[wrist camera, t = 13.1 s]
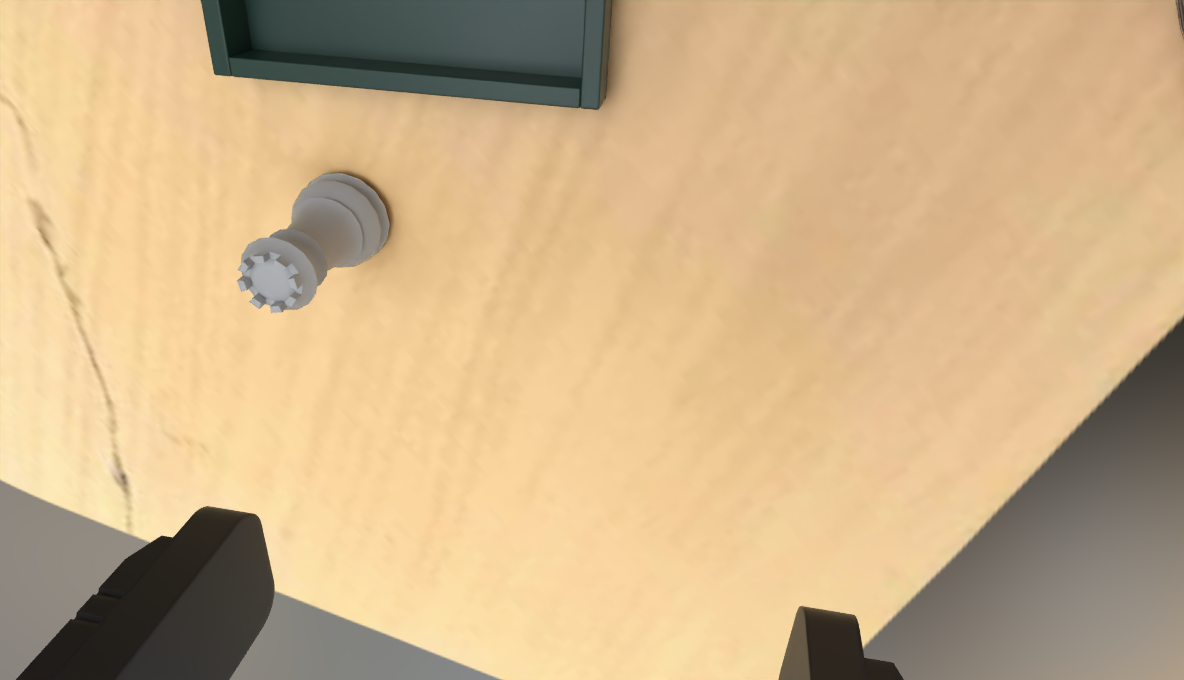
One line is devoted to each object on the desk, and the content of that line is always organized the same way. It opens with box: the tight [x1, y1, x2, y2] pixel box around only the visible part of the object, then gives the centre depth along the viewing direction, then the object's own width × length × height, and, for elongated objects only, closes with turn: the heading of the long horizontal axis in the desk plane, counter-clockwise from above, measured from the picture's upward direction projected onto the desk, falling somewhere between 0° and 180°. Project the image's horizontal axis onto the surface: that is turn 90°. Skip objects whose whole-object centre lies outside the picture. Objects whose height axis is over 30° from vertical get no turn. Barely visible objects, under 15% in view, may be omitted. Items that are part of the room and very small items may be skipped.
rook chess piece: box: [237, 173, 389, 313], centre depth 35 cm, size 4×4×8 cm
